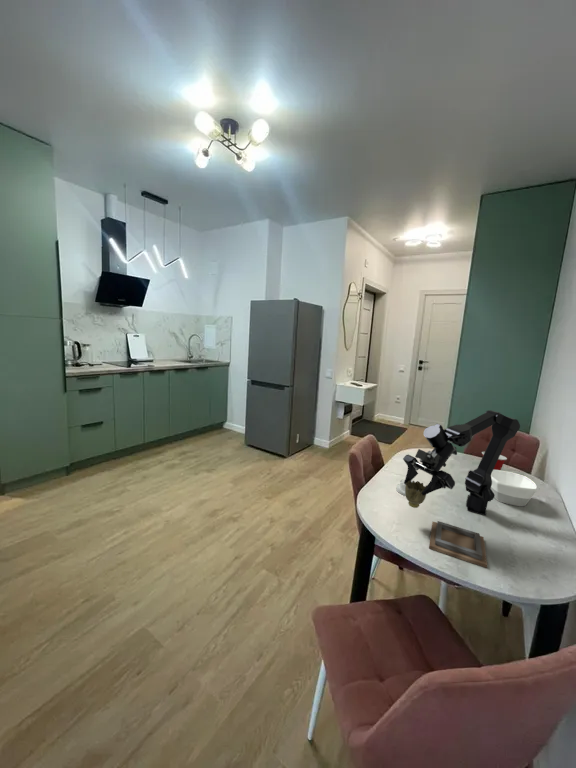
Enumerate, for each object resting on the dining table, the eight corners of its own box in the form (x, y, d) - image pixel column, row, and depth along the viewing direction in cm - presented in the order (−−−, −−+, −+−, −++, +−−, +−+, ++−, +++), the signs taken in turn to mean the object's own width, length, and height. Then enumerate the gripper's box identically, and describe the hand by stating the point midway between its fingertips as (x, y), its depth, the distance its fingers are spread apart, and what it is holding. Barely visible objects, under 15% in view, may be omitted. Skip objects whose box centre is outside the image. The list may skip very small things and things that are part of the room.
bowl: (539, 514, 135) (544, 492, 133) (489, 503, 140) (493, 482, 138) (524, 494, 151) (528, 475, 150) (480, 485, 157) (484, 466, 155)
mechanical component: (392, 491, 143) (416, 500, 137) (394, 482, 142) (418, 490, 136) (400, 484, 151) (423, 492, 145) (401, 475, 150) (424, 482, 144)
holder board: (482, 539, 113) (484, 532, 113) (486, 568, 99) (488, 560, 99) (432, 523, 120) (433, 517, 120) (428, 548, 106) (430, 541, 106)
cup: (398, 501, 121) (401, 481, 119) (414, 499, 123) (417, 479, 122) (412, 512, 114) (415, 491, 113) (429, 510, 117) (432, 488, 115)
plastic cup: (504, 478, 168) (509, 455, 166) (500, 484, 160) (505, 460, 158) (480, 470, 175) (484, 448, 173) (475, 476, 167) (479, 453, 165)
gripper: (410, 433, 125) (384, 465, 121) (455, 451, 108) (427, 489, 105) (421, 451, 130) (396, 482, 126) (466, 471, 114) (439, 507, 110)
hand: (413, 489), depth 117 cm, fingers closed on cup, 7 cm apart
